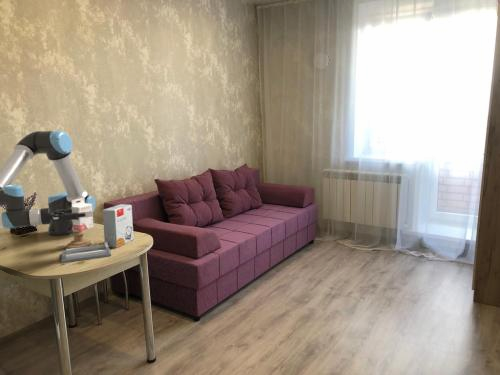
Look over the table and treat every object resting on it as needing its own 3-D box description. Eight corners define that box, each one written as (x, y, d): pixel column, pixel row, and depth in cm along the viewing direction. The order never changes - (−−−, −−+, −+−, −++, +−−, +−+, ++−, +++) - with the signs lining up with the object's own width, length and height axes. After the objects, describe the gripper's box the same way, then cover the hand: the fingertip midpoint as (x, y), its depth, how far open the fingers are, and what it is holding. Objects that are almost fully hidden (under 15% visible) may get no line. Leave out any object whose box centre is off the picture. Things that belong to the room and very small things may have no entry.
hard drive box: (116, 248, 207) (113, 210, 203) (104, 247, 209) (101, 210, 206) (134, 239, 221) (131, 204, 218) (122, 238, 224) (119, 203, 220)
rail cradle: (62, 254, 200) (61, 245, 199) (108, 247, 208) (108, 239, 207) (61, 263, 187) (60, 254, 186) (111, 255, 196) (110, 247, 195)
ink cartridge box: (80, 231, 190) (78, 201, 188) (73, 230, 192) (70, 200, 190) (94, 226, 198) (91, 197, 195) (86, 225, 200) (84, 197, 197)
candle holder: (85, 240, 220) (82, 205, 217) (96, 245, 212) (92, 208, 208) (62, 246, 212) (59, 209, 208) (72, 251, 203) (68, 212, 200)
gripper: (43, 219, 197) (92, 214, 206) (39, 230, 178) (94, 224, 186) (41, 204, 196) (90, 200, 205) (38, 213, 176) (92, 208, 185)
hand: (92, 211), depth 195 cm, fingers closed on ink cartridge box, 9 cm apart
